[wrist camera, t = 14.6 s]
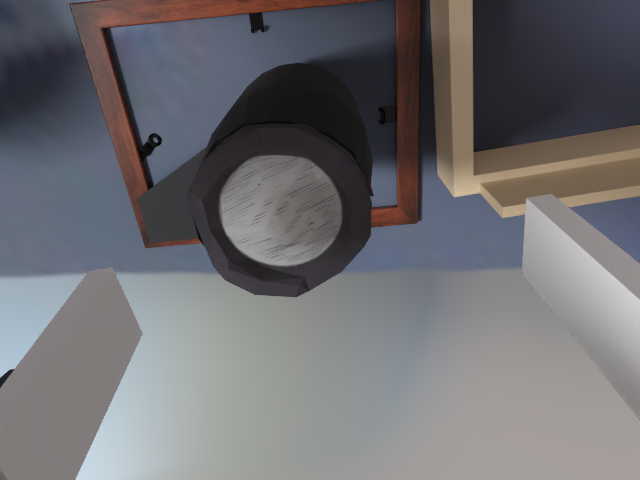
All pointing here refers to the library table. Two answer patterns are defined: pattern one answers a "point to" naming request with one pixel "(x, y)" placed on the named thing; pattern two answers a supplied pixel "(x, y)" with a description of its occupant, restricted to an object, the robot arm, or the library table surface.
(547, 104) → the library table surface
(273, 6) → the picture frame
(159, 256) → the library table surface
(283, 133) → the portable speaker
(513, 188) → the carton
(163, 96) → the library table surface
